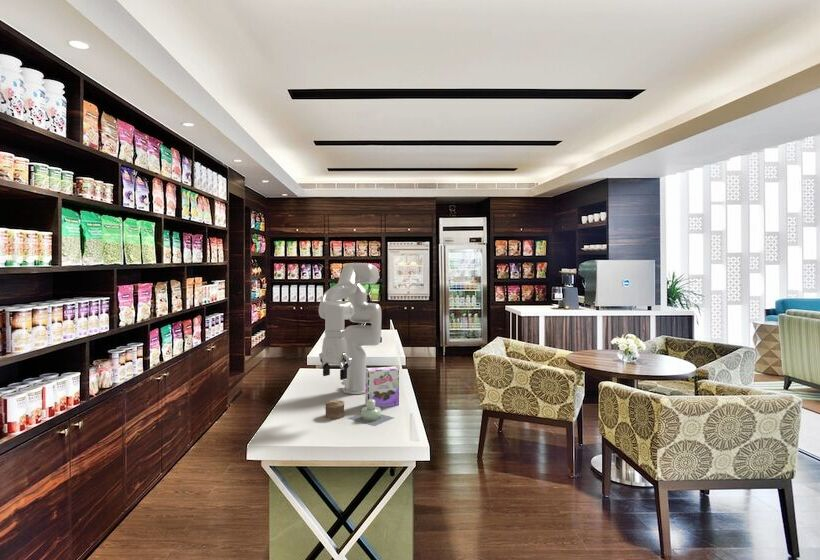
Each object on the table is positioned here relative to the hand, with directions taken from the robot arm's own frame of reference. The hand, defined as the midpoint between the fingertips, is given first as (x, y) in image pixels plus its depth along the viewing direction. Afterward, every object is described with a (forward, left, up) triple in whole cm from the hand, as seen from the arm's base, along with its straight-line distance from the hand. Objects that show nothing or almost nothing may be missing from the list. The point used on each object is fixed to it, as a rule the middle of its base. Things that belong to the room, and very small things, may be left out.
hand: (334, 377), depth 185 cm
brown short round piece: (0, 0, -16) cm, 16 cm away
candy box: (+5, +23, -16) cm, 29 cm away
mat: (+13, +7, -16) cm, 22 cm away
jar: (+13, +7, -16) cm, 21 cm away
